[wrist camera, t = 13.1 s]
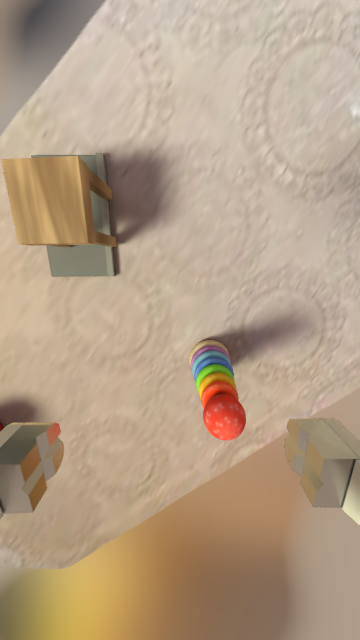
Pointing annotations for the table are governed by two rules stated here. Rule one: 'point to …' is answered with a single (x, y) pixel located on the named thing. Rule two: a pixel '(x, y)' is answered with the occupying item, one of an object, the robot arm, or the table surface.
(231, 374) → the stacking toy
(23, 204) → the stool
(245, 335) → the table surface
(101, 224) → the mat
